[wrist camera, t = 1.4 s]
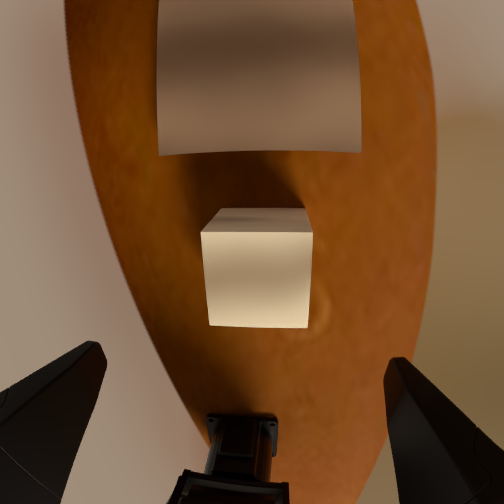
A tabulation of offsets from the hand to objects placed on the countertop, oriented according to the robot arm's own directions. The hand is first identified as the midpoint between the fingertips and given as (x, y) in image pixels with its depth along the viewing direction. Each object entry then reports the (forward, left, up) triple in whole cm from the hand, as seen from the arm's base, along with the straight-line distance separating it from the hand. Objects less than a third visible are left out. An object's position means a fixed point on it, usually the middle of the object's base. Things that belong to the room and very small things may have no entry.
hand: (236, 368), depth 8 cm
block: (0, 0, -11) cm, 11 cm away
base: (+11, 0, -11) cm, 15 cm away
